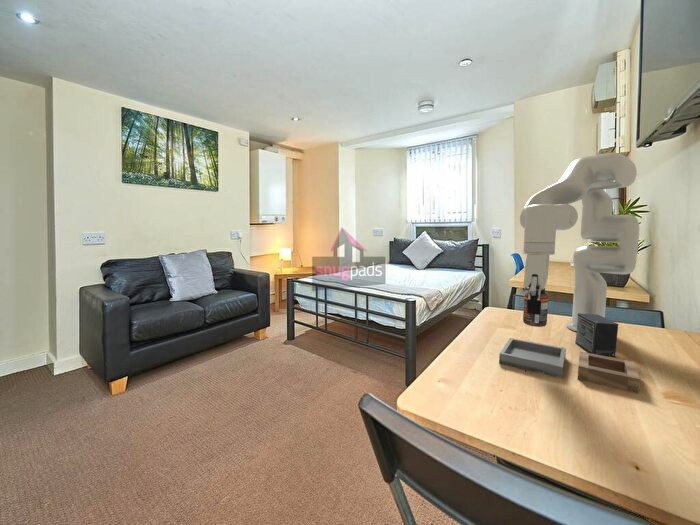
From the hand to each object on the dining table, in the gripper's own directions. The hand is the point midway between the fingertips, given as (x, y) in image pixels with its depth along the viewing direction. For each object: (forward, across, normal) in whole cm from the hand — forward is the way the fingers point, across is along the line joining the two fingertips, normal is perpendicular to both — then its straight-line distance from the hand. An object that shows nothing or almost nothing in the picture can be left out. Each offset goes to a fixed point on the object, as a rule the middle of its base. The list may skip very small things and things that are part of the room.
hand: (535, 310), depth 88 cm
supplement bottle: (+4, 0, 0) cm, 4 cm away
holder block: (+15, 0, +16) cm, 22 cm away
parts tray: (+15, 0, 0) cm, 15 cm away
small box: (+15, -20, +14) cm, 29 cm away
